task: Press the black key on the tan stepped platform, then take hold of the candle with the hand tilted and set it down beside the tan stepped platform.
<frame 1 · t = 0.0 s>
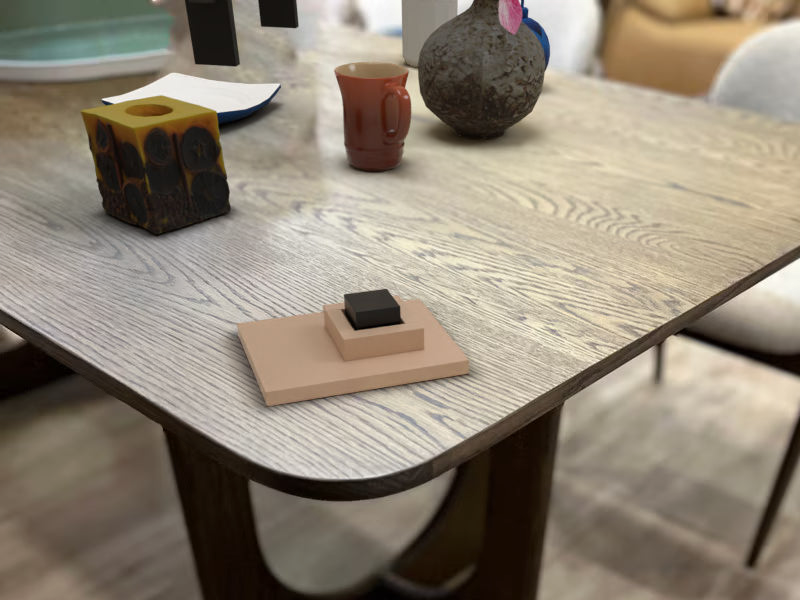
hand: (251, 44, 58), 20 cm above the table, tool pointing down, fingers open, 13 cm apart
key: (372, 310, 66), point 3 cm above the table, slide at 0.1 cm
tan stepped platform: (350, 354, 68), on the table
mug: (381, 169, 105), on the table
candle: (168, 215, 92), on the table
plate: (197, 113, 123), on the table
vase: (482, 135, 117), on the table
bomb: (514, 90, 137), on the table
jar: (429, 64, 150), on the table
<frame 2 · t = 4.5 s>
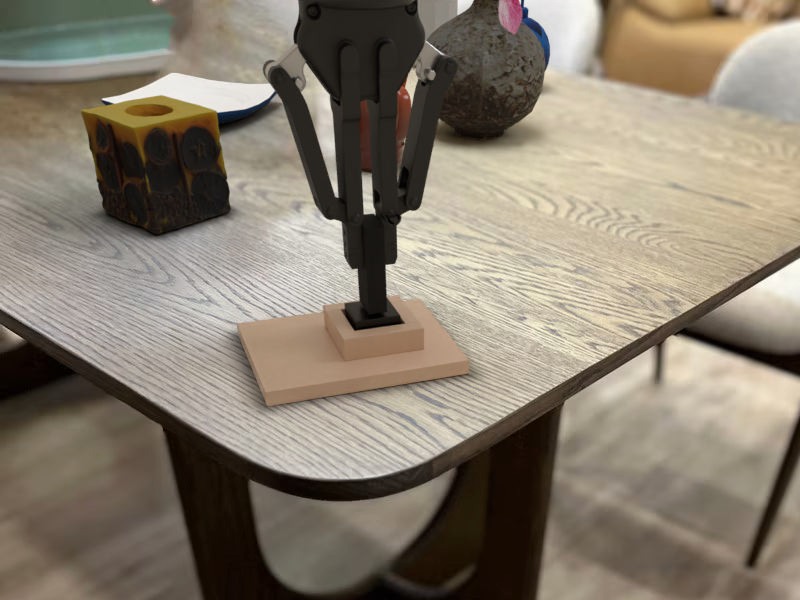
hand: (373, 305, 66), 4 cm above the table, tool pointing down, fingers closed
key: (372, 319, 67), point 3 cm above the table, slide at -0.7 cm, touching gripper
everything else where it was.
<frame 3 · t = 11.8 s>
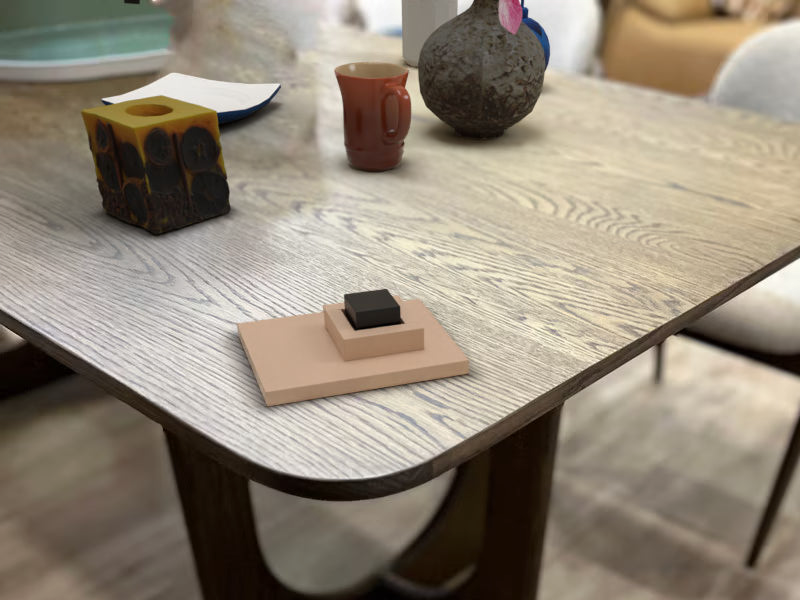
key: (372, 310, 66), point 3 cm above the table, slide at 0.1 cm
everything else where it was.
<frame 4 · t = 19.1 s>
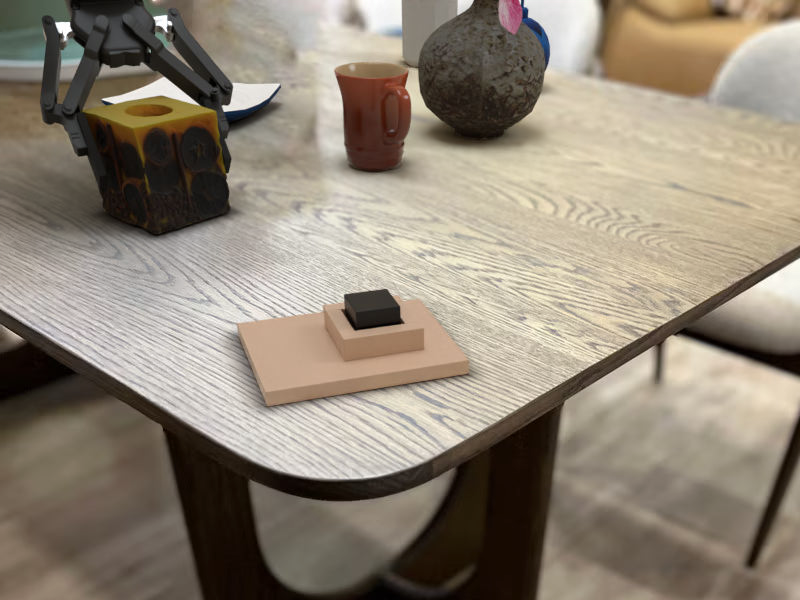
hand: (166, 175, 87), 5 cm above the table, tool tilted 45°, fingers closed on candle, 12 cm apart
candle: (168, 215, 92), on the table, touching gripper
everything else where it was.
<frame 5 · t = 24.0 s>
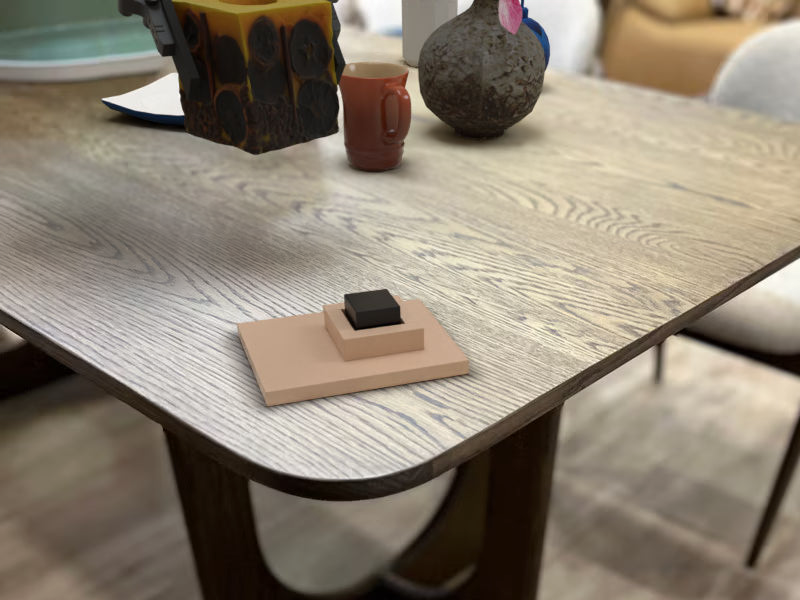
hand: (268, 82, 71), 16 cm above the table, tool tilted 45°, fingers closed on candle, 12 cm apart
candle: (263, 137, 75), point 11 cm above the table, touching gripper
everything else where it was.
when the fingers open (5 cm above the table, at t = 28.7 s): candle stays where it is, on the table.
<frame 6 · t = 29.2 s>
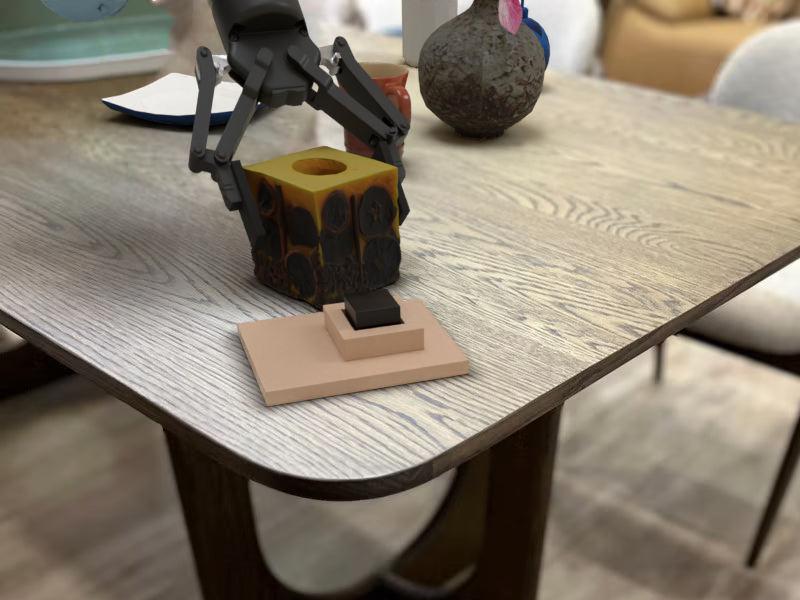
hand: (333, 231, 74), 5 cm above the table, tool tilted 45°, fingers open, 13 cm apart
candle: (328, 283, 79), on the table
everything else where it was.
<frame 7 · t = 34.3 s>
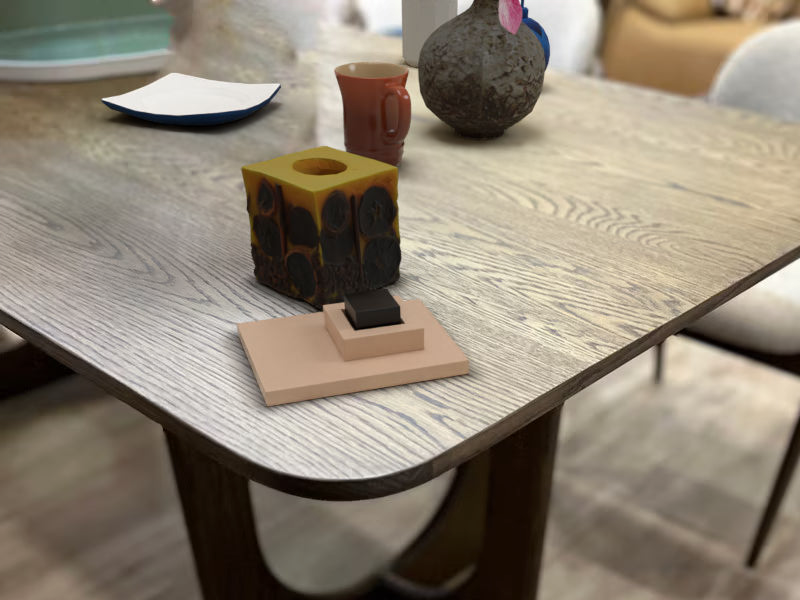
nothing on the table moved.
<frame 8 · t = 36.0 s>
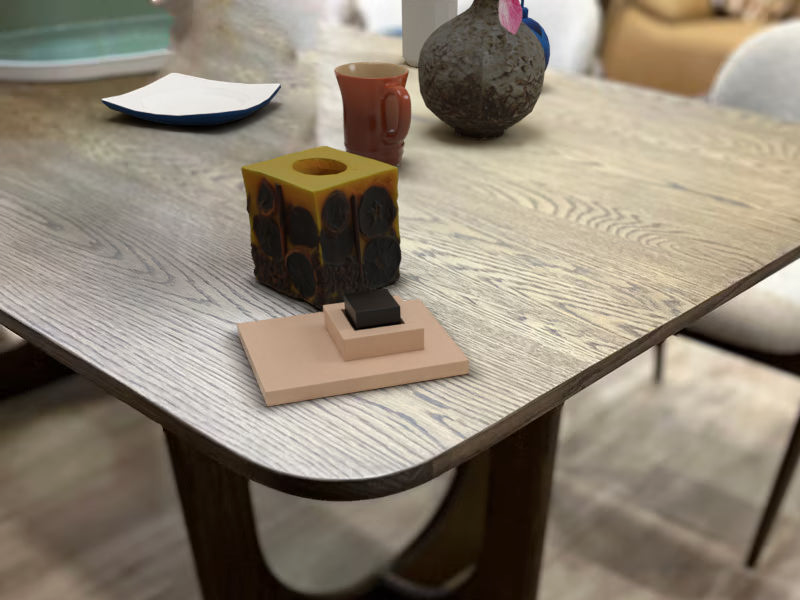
nothing on the table moved.
at the end: key pushed in 1.0 cm at the most during the clip, back to where it started at the end; key slide at 0.1 cm; candle inside the target area (0.1 cm from its centre), on the table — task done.
